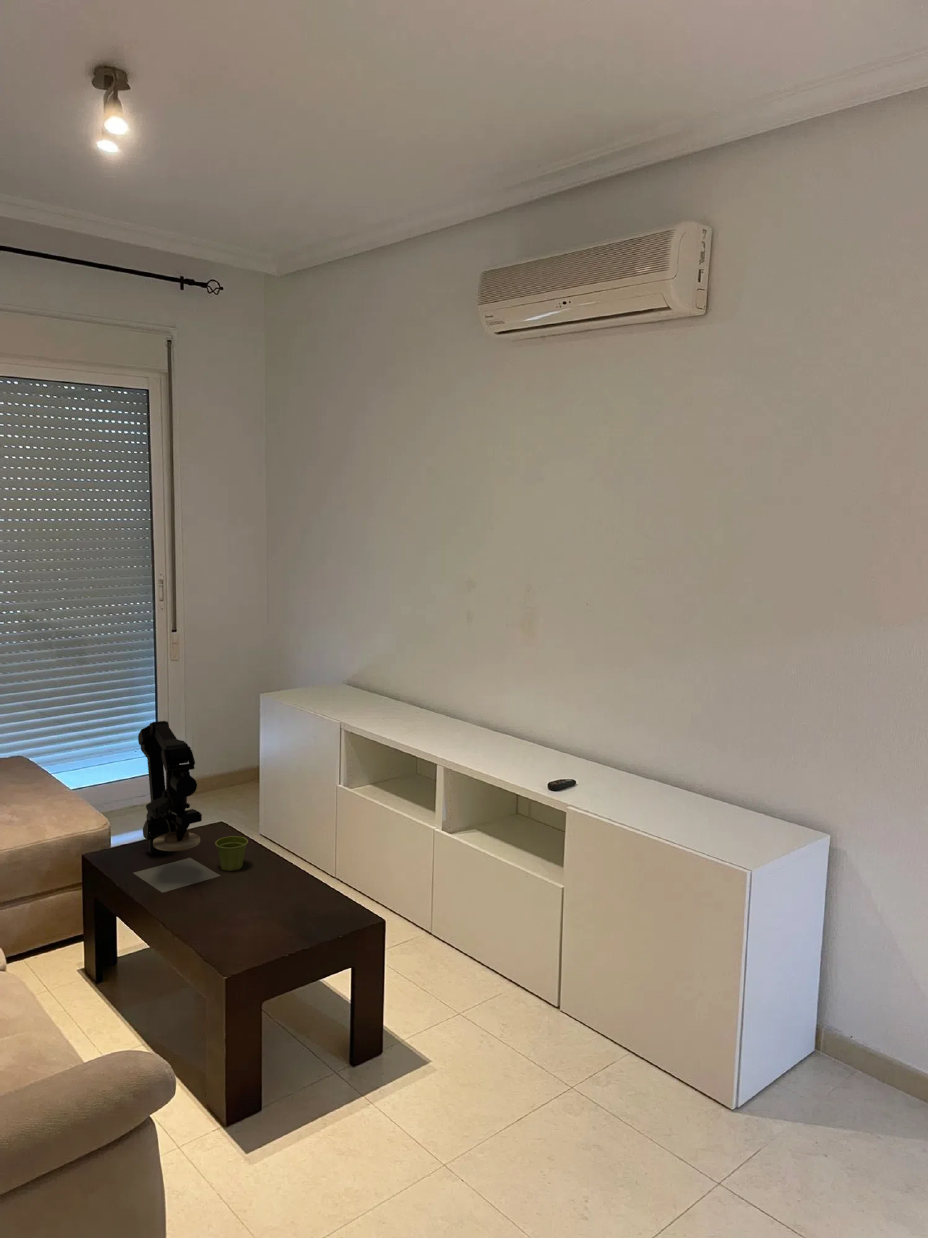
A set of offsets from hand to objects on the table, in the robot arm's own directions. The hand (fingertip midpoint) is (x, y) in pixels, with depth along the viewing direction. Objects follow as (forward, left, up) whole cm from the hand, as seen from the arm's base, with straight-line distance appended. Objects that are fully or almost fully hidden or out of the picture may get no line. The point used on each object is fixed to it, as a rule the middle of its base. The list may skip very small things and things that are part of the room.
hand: (176, 839), depth 261 cm
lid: (0, 0, -1) cm, 1 cm away
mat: (0, 0, -12) cm, 12 cm away
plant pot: (+5, +15, -12) cm, 20 cm away
